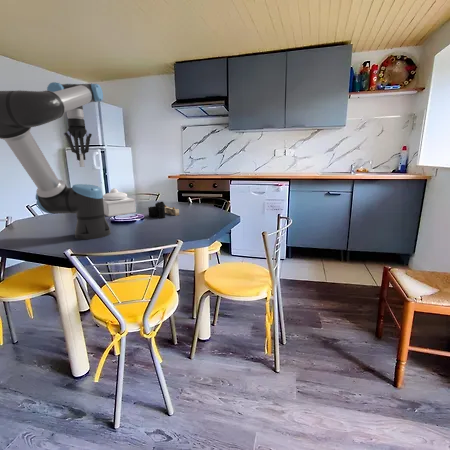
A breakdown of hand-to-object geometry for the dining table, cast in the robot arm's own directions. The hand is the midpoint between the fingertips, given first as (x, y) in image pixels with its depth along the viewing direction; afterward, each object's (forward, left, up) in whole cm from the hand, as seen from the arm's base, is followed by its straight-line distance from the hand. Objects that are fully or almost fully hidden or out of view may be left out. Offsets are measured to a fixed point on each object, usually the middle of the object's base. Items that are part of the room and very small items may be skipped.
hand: (82, 166), depth 147 cm
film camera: (-10, -36, -31) cm, 48 cm away
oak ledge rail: (-7, -46, -30) cm, 56 cm away
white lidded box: (+20, -23, -31) cm, 44 cm away
